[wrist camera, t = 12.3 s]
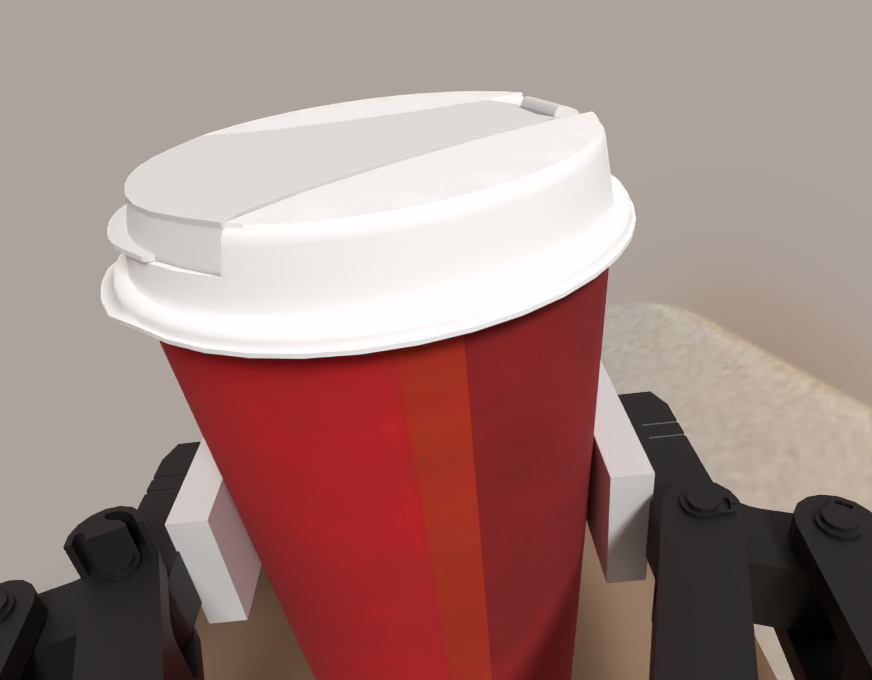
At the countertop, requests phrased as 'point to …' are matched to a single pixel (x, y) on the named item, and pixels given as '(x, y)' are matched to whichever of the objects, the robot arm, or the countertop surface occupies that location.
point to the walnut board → (593, 652)
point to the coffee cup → (393, 363)
